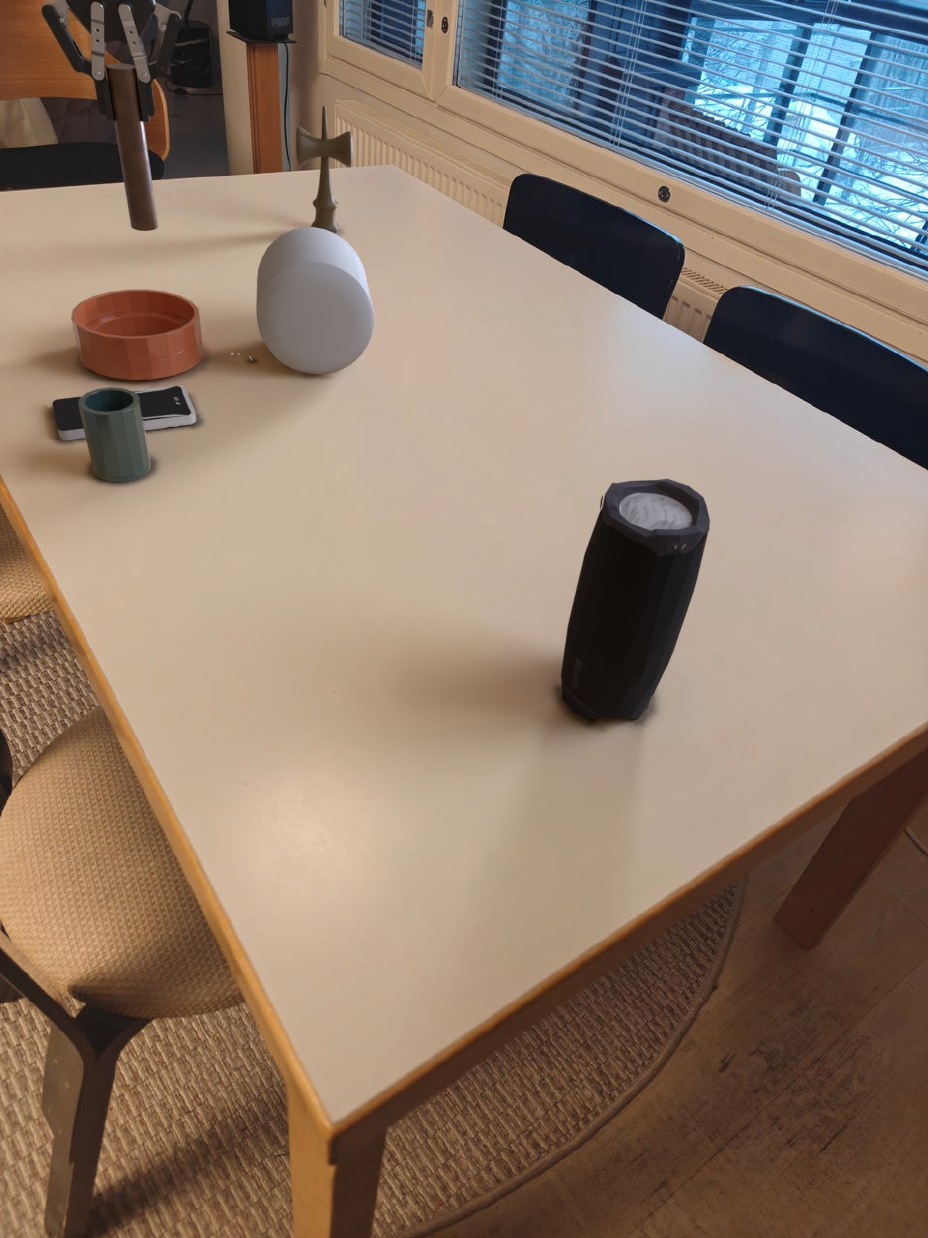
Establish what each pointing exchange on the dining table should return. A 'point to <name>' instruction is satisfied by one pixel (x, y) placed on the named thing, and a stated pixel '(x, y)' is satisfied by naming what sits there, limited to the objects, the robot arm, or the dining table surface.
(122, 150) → the stirring stick
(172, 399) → the smartphone
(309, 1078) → the dining table surface
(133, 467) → the holder
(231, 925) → the dining table surface
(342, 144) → the kendama
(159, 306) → the bowl
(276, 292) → the white oval cylinder
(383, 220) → the dining table surface
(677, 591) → the portable speaker
